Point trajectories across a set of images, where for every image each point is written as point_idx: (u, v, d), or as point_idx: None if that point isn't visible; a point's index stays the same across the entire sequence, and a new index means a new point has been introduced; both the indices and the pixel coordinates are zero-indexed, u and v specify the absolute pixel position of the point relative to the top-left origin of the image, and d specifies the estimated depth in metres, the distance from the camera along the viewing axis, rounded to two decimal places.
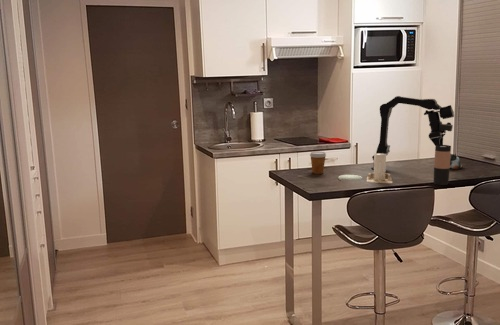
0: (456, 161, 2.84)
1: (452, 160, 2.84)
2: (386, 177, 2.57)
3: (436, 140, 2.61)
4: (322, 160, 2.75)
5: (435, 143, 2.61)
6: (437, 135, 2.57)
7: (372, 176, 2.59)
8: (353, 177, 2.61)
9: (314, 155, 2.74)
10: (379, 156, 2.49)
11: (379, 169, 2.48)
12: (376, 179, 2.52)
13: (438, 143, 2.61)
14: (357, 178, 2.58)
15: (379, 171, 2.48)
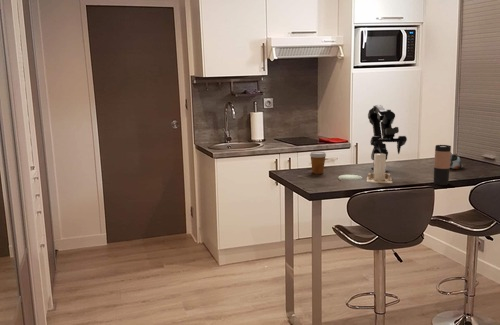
0: (457, 161, 2.83)
1: (453, 160, 2.84)
2: (386, 177, 2.57)
3: None
4: (322, 160, 2.75)
5: (378, 149, 2.60)
6: (371, 139, 2.60)
7: (372, 176, 2.59)
8: (353, 177, 2.61)
9: (314, 155, 2.74)
10: (379, 156, 2.49)
11: (379, 169, 2.48)
12: (376, 179, 2.52)
13: (379, 148, 2.59)
14: (357, 178, 2.58)
15: (379, 171, 2.48)
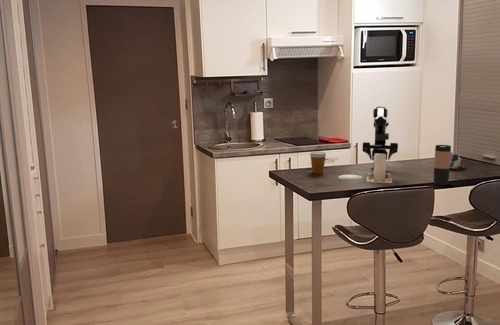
0: (458, 161, 2.83)
1: (454, 160, 2.83)
2: (386, 177, 2.57)
3: (369, 152, 2.60)
4: (322, 160, 2.75)
5: (368, 155, 2.60)
6: None
7: (372, 176, 2.59)
8: (353, 177, 2.61)
9: (314, 155, 2.74)
10: (379, 156, 2.49)
11: (379, 169, 2.48)
12: (376, 179, 2.52)
13: (369, 154, 2.59)
14: (357, 178, 2.58)
15: (379, 171, 2.48)
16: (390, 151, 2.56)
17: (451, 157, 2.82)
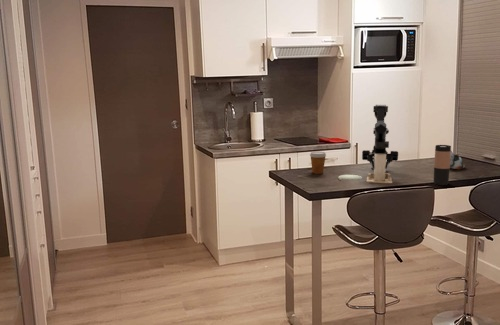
0: (459, 161, 2.83)
1: (455, 160, 2.83)
2: (386, 177, 2.57)
3: (371, 160, 2.55)
4: (322, 160, 2.75)
5: (371, 163, 2.55)
6: (362, 153, 2.57)
7: (372, 176, 2.59)
8: (353, 177, 2.61)
9: (314, 155, 2.74)
10: (379, 156, 2.49)
11: (379, 169, 2.48)
12: (376, 179, 2.52)
13: (371, 162, 2.54)
14: (357, 178, 2.58)
15: (379, 171, 2.48)
16: (387, 159, 2.52)
17: (452, 157, 2.82)
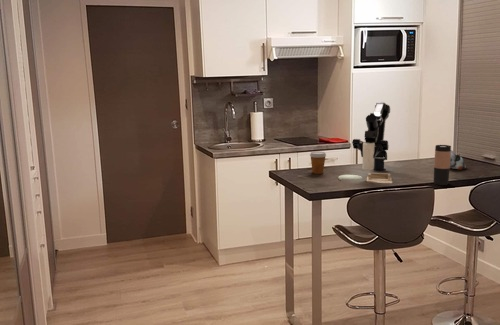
0: (460, 162, 2.82)
1: (456, 161, 2.82)
2: (386, 177, 2.57)
3: None
4: (322, 160, 2.75)
5: None
6: None
7: (372, 176, 2.59)
8: (353, 177, 2.61)
9: (314, 155, 2.74)
10: (366, 145, 2.50)
11: (366, 158, 2.49)
12: (364, 168, 2.53)
13: None
14: (357, 178, 2.58)
15: (366, 160, 2.49)
16: (376, 148, 2.52)
17: (453, 157, 2.81)
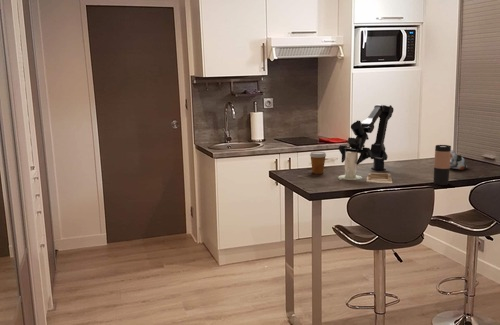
0: (462, 162, 2.81)
1: (458, 161, 2.82)
2: (386, 177, 2.57)
3: None
4: (322, 160, 2.75)
5: None
6: None
7: (372, 176, 2.59)
8: None
9: (314, 155, 2.74)
10: (347, 154, 2.57)
11: (345, 166, 2.57)
12: (345, 176, 2.61)
13: None
14: (357, 178, 2.58)
15: (345, 168, 2.57)
16: (360, 155, 2.56)
17: (455, 158, 2.80)
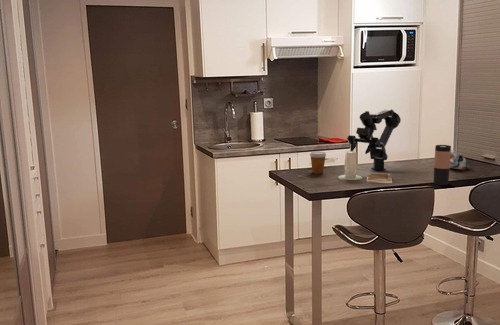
0: (463, 162, 2.81)
1: (459, 161, 2.81)
2: (386, 177, 2.57)
3: None
4: (322, 160, 2.75)
5: None
6: None
7: (372, 176, 2.59)
8: None
9: (314, 155, 2.74)
10: (347, 154, 2.57)
11: (345, 166, 2.57)
12: (345, 176, 2.61)
13: None
14: (357, 178, 2.58)
15: (345, 168, 2.57)
16: (369, 145, 2.62)
17: (457, 158, 2.79)
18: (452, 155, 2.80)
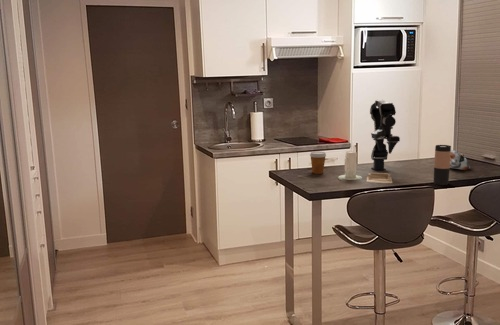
0: (465, 162, 2.80)
1: (461, 161, 2.80)
2: (386, 177, 2.57)
3: None
4: (322, 160, 2.75)
5: None
6: None
7: (372, 176, 2.59)
8: None
9: (314, 155, 2.74)
10: (347, 154, 2.57)
11: (345, 166, 2.57)
12: (345, 176, 2.61)
13: None
14: (357, 178, 2.58)
15: (345, 168, 2.57)
16: (388, 145, 2.63)
17: (458, 158, 2.79)
18: (453, 155, 2.79)
